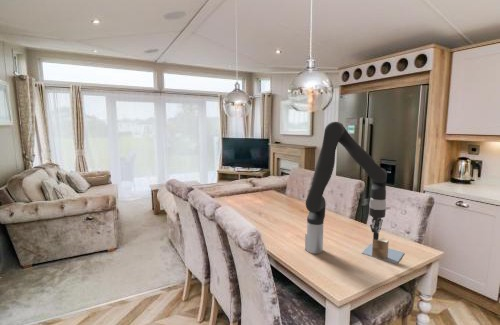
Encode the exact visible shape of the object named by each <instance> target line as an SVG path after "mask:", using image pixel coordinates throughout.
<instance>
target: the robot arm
mask: <svg viewBox="0 0 500 325" xmlns="http://www.w3.org/2000/svg"><path fill="white" fill-rule="evenodd" d="M338 144H340V145H342V147H343V148H344V149H345V150H346V151H347V152H348V154H349V155H350V157H351V158H352V159H353V161H354V162H355V163H357V165H358V166H359V167H361V169H363V170H364V173H366V174H367V176H368V177H369V178H370V179H371V188H370V197H369V206H368V207H369V208H368V214H369V216H370V217H372V219H371V223H370V225H369V226H370V231H371V233H372V235H373V236H372V237H373V238H372V240H373V239H375V240H378V239H379V238H380V237H379V235H380V232H381V229H382V225H383V221H384V220H383V219H382V218H385V217H386V213H387V212H386V210H387V207H386V206H387V200H386V199H387V189H386V188H387V187H386V186H387V178H388V172H387V170H386V169H385V168H383V167H381V166H380V165H378V164H377V163H376V161H375V160H374V158H373V157H372V156H371V155H370V154H369V153H368V152H367V151H366V150H365V149H364V148H363V147H362V146H360V145H359V143H357V141H356V140H355V139H354V138H353V137H352V135H350V133H349V132H348V130H347V129H346V128H345V126H344V125H343V123H341V122H339V121H332V122H330V123H327V125H326V126H325V127H324V131H323V139H322V144H321V145H322V146H321V149H320V152H319V155H318V157H317V161H316V165H315V169H314V173H313V177H312V181H311V186H310V190H309V192H308V195H307V197H306V201H305V206H306V210H307V211H308V212H309V213H308V215H307V218H306V233H304V234H305V236H304V238H305V239H304V250H305V251H307V252H308V253H310V254H313V255H319V254H322V253H323V250H324V222H325V221H324V220H325V218H326V217H325V216H326V204H327V203H326V198H324V196H323V195H324V192H325V190H326V187H327V186H328V184H329V182H330V180H331V178H332V175H333V172H334V169H335V168H334V167H335V163H336V151H337V147H338Z"/></svg>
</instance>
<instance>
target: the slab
mask: <svg viewBox="0 0 500 325" xmlns="http://www.w3.org/2000/svg"><path fill="white" fill-rule="evenodd" d="M389 242H390V241H389V239H386V238H382V237H379V239H378V240H375V239H373V238H372V244H373V247H372V256H375V257H378V258H381V259H380V260H382V259H384V260H383V261H385V260H386V259H387V257H388V248H389ZM372 256H371V257H372ZM375 257H374V258H375ZM378 258H377V259H378Z"/></svg>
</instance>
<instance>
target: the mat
mask: <svg viewBox="0 0 500 325" xmlns="http://www.w3.org/2000/svg"><path fill="white" fill-rule="evenodd" d="M372 247H373V243H370V244H368V246H367V247H365V249H364V250H362V252H361V254H362V255H366V256H370V257H372V258H375V259H380V260H382V261H386V262H389V263H391V264H395V265H398V263H399V262H400V260H401V258H402V257H403V255H404V254H405V251H404V252H403V251H401V250H397V249H393V248H389V247H388V257H387V259H386V260H384V259H381V258H378V257H375V256H372Z"/></svg>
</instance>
